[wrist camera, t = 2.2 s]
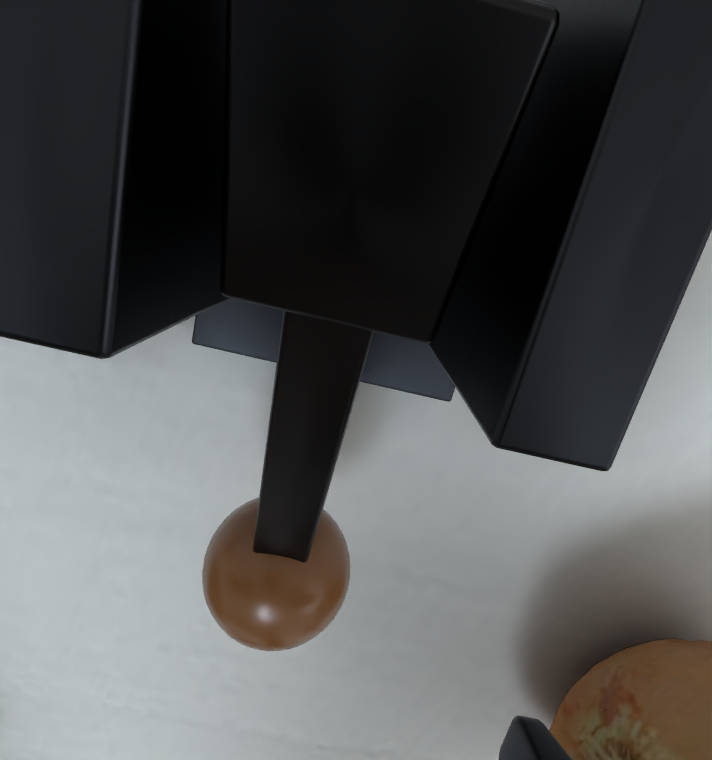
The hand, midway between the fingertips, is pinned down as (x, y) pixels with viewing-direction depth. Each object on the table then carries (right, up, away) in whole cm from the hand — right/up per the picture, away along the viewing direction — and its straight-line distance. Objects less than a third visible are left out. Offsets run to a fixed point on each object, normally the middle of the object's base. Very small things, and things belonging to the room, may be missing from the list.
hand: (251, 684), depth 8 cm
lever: (+1, +5, +1) cm, 5 cm away
